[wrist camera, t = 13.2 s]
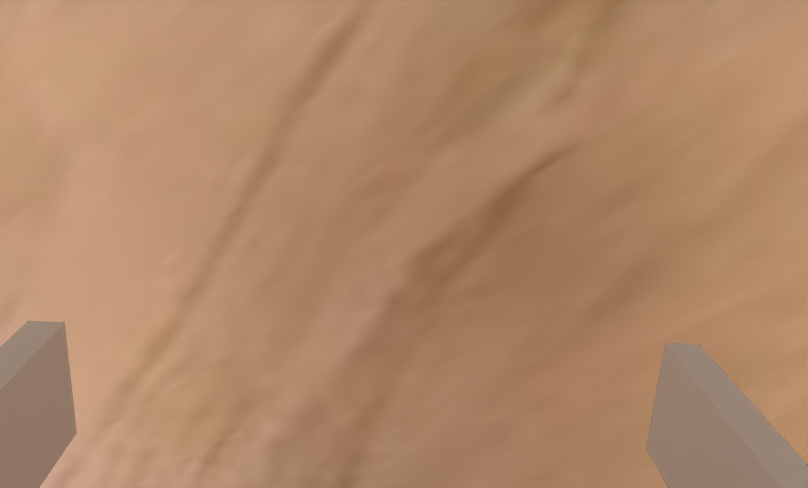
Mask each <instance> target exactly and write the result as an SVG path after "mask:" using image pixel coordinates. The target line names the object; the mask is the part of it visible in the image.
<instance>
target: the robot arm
mask: <svg viewBox="0 0 808 488" xmlns="http://www.w3.org/2000/svg"><path fill="white" fill-rule="evenodd" d="M76 433H77V431H76V422H75V413H74V404H73V395H72V386H71V377H70V367H69V358H68V349H67V340H66V331H65V322H39V321H28V322H27V323H26V324H24V325H23V326H22V327H21V328H20V329H19V330H18V331H17V332H16V333H15V334H14V335H13V336H12V337H11V338H10V339H9V340H8V341H6V342H5V343H4V344H3V345H2V346H1V347H0V488H39V487H40V486H41V484H42V483H43V481H44V480H45V478H46V477H47V475H48V474H49V473H50V471H51V470H52V468H53V467H54V465H55V464H56V462H57V461H58V459H59V458H60V456H61V455H62V454H63V452H64V451H65V449H66V448H67V446H68V445H69V443H70V442H71V440H72V439H73V437H74V436H75V435H76ZM646 450H647V452H648V453H649V455H650V457H651V458H652V460H653V462H654V464H655V465H656V467H657V469H658V471H659V472H660V474H661V476H662V478H663V479H664V481H665V483H666V484H667V486H668V488H808V464H806V462H805V461H804V460H803V459H802V458H801V457H800V456H799V455H798V454H797V452H796V451H795V450H794V449H793V448H792V447H791V446H790V445H789V443H788V442H787V441H786V440H785V439H784V438H783V437H782V436H781V435H780V433H779V432H778V431H777V430H776V429H775V428H774V427H773V426H772V425H771V423H770V422H769V421H768V420H767V419H766V418H765V417H764V416H763V414H762V413H761V412H760V411H759V410H758V409H757V408H756V407H755V406H754V404H753V403H752V402H751V401H750V400H749V399H748V398H747V397H746V396H745V394H744V393H743V392H742V391H741V390H740V389H739V388H738V387H737V385H736V384H735V383H734V382H733V381H732V380H731V379H730V378H729V377H728V375H727V374H726V373H725V372H724V371H723V370H722V369H721V368H720V367H719V365H718V364H717V363H716V362H715V361H714V360H713V359H712V358H711V357H710V355H709V354H708V353H707V352H706V351H705V350H704V349H703V348H702V346H701V345H700V344H681V343H666V344H665V349H664V355H663V360H662V365H661V370H660V376H659V381H658V386H657V392H656V397H655V402H654V407H653V413H652V418H651V423H650V428H649V434H648V439H647V444H646Z"/></svg>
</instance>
